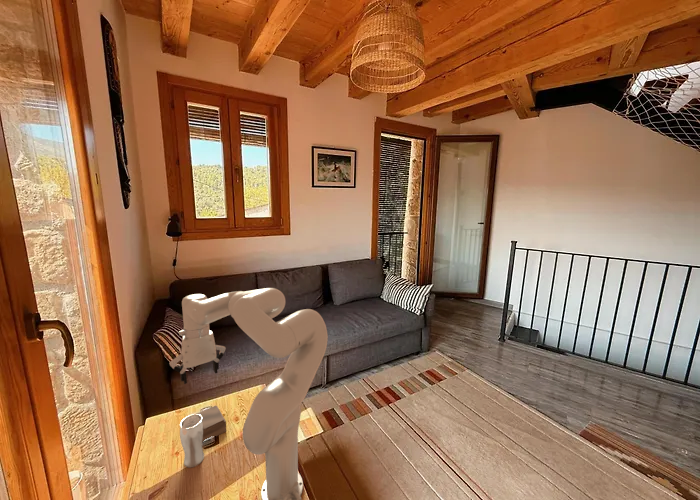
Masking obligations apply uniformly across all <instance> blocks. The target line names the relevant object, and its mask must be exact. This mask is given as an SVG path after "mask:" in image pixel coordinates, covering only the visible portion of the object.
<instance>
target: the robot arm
mask: <svg viewBox="0 0 700 500" xmlns="http://www.w3.org/2000/svg"><path fill="white" fill-rule="evenodd" d="M285 306H286V296H285V294H284V292H282V291H281V290H279V289H277V288H275V287H266V288H265V287H264V288H259V289H257V288H256V289H252V290H246V291H242V290H238V291H237V290H236V291H231V292H225V293H222V294H218V295H216V296H212V297H210V298H208V297H207V295H205V294H202V293H194V294H193V293H192V294H189V295H186V296H185V297H183V298H182V301H181V307H182V309H181V310H182V320H183V329H181V330H180V331H178V332H179V333H178V334H179V336H182V339H181V350H180V351H181V353H180V354H179V355H178V356H176V357H175V358H173V359H172V360H171V361H169V366H170V367H171V368H172V369H173V370H174V371H175V372H177V373H179V375H180V381H181V382H183V384H184V385H186V384H187V383H188V381H187V378H188V377H187V372H186V370H187V369H189V368H193V367H197V366H199V365H203V364H206V363H210V362H212V370H213V372H214V374H218V370H220V367H219V366H220V365H219V362H220V360H221V359H222V358H223V357H224V354H225V352H226V349H227V348H226V346H224V345H218V344H216V342H215V337H214V336H215V335H214V333H213V331H212V330H210V324H211V323H214V322H216V321H218V320H222V318H225V317H227V316H230V317H231V318H232V319H233V320H234V322H235V323H236V324H237V326H238V328H240V329H241V330H242V331H243V332H244V333H245V334H246V335H247V336H248V337H249V338H250V339H251V340H252V341H253V342H255V344H256V345H258V346H259V347H260V348H261V349H262V350H263V351H264V352H265V353H266V354H268V355H269V356H271V357H272V358H276V359H283V358H287V357H288V359H287V361H286V363H285V365H284V368H283V370H282V372H281V373H280V374H279V375H278V376H277V377H276V378H274V380H272V381H271V382H270V383H269V384H267V385H266V386H264V388H262V389H261V390H260V391H259V392H258V393H257V395H256V396H255V398H254V399H253V401H252V403H251V406H250V409H249V411H248V413H247V416H246V418H245V421H244V424H243V428H242V440H243V444H244V446H245V447H246V449H247V450H248V451H249V452H250V453H252V454H254V455H264V454H265V456H264V457H265V459H264V460H265V480H264V481H263V484H262V487H261V490H260V491H261V492H260V495H261V496H260V497H261V500H302V497H301V496H302V493H303V490H304V480H303V478H302V476H301V473H299V463H298V462H299V451H298V450H299V448H298V447H299V445H298V444H299V443H298V442H299V440H298V439H299V427H300V426H299V425H300V421H301V413H302V412H301V411H302V409H301V403H302V402H303V401H304V400H305V398H306V396H307V394H308V392H309V390H310V388H311V385H312V383H313V380H314V378H315V377H316V374H317V371H318V369H319V367H320V366H321V363H322V360H323V359H324V355H325V354H326V351H327V346H328V340H329V338H328V330H327V329H328V328H327V325H326V323H325V321H324V319H323V317H322V315H321V314H320V313H319V312H318V311H316V310H314V309H311V308H306V309H300V310H297V311H295V312H293V313H291V314H289V315H287V316H286V317H284V318H282V319H280V320H278V321H275V320H273V318H275V317H278V315H280V314H281V313H282V312H283V310H284V309H285ZM217 351H219V352H217ZM217 353H218V354H217ZM180 362H182V363H181V365H179V364H178V363H180Z"/></svg>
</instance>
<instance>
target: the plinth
mask: <svg viewBox="0 0 700 500" xmlns="http://www.w3.org/2000/svg"><path fill="white" fill-rule="evenodd" d="M196 414H199V415H201V416H202V420H203V427H204V436H203V441H204V440H205V439H207V438H209V437H211V436H216V437H218V436H220V435H222V434H224V433H226V432H227V421H226V419H225V417H224V415H223V414H222V412H221V410H220V408H219V407H218V405H214V406H211V407H209V408H206V409H205V410H203V411H200V412H198V413H196Z"/></svg>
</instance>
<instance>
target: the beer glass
mask: <svg viewBox="0 0 700 500" xmlns="http://www.w3.org/2000/svg"><path fill="white" fill-rule="evenodd" d="M203 436H204V427H203V420H202V416H201V415H199V414H197V413H193V414H190V415H187V416H185V417H184V418H183V419H182V420H181V421H180V424H179V439H180V444H181V447H182V449H183V452H184V453H183V454H184V459H183V465H184V466H185V467H186V468H194V467H197V466H198V465H200V464H201V463H202V462H203V460H204V459H205V454H204V450H203V444H204V443H203Z"/></svg>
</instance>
